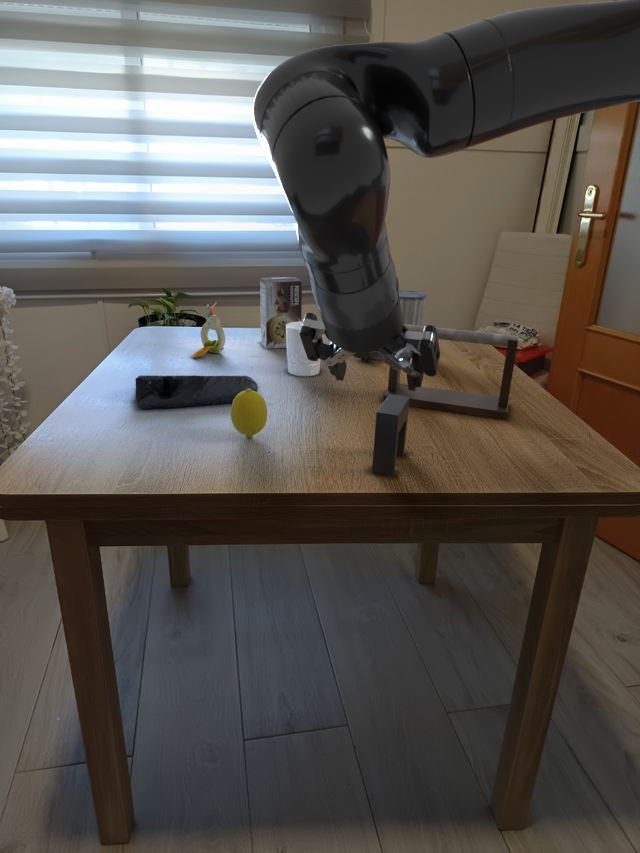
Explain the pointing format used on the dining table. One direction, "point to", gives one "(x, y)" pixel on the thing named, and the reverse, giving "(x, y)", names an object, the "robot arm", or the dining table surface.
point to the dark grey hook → (390, 433)
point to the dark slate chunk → (189, 390)
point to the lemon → (249, 412)
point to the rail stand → (457, 399)
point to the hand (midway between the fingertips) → (377, 378)
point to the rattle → (208, 345)
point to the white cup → (298, 353)
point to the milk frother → (410, 309)
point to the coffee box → (279, 308)
